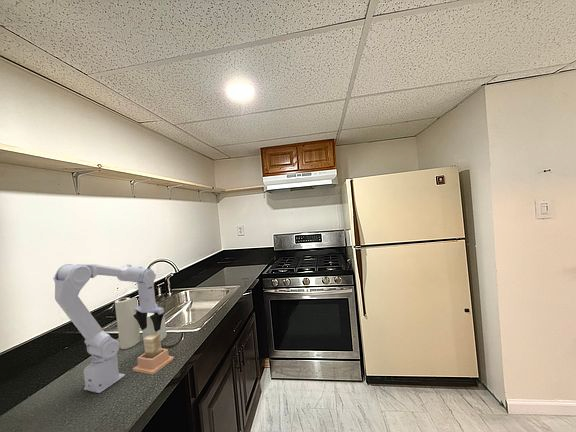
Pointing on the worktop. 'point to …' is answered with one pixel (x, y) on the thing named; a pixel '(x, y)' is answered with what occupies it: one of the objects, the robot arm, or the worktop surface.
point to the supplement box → (150, 328)
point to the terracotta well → (153, 362)
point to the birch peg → (152, 346)
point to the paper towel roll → (127, 322)
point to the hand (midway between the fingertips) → (150, 329)
